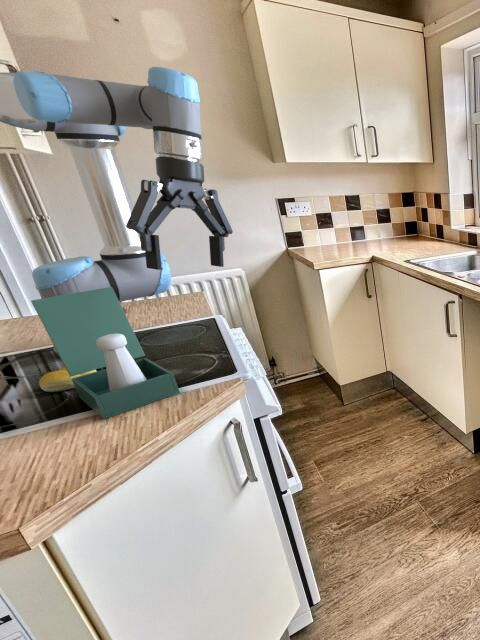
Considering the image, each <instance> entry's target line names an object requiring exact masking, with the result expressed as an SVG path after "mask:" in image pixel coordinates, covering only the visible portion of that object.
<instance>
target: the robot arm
mask: <svg viewBox="0 0 480 640" xmlns="http://www.w3.org/2000/svg"><path fill="white" fill-rule="evenodd" d="M146 82H147V84H148V85H137V84H131V83H122V82H114V81H109V80H108V81H106V80H98V79H89V78H84V77H83V78H82V77H76V76H67V75H61V74H53V73H49V72H44V71H28V70H18V71H16V72H0V123H3V124H6V125H8V126H12V127H15V128H19V129H22V130H23V129H24V130H30V131H35V132H51V133H54V134H55V137H56V139H57V141H58V142H59V143H60V144H62V145H64V146H65V147H67V148H68V149H69V151H70V154H71V157H72V159H73V163H74V165H75V168H76V171H77V174H78V176H79V180H80V182H81V185H82V188H83V190H84V192H85V193H84V194H85V196H86V198H87V201H88V204H89V207H90V210H91V213H92V215H93V218H94V222H95V224H96V227H97V229H98V232H99V235H100V238H101V241H102V244H103V247H102V248H101V249H100V251H99V252H98V253H99V256H100V260H94V259H93V258H92V257H91V256H76V257H69V258H64V259H60V260H55V261H51V262H47V263H44V264H41V265H38V266H37V267H35V268H33V270H32V271H31V272H32V273H31V275H32V279H33V283H34V285H35V289H36V291H38V294H39V295H40V297H41V298H40V299H43V298H49V297H55V296H61V295H66V294H72V293H78V292H84V291H90V290H96V289H102V288H108V287H112V288H113V290H114V292H115V294H116V296H117V298H118V300H119V302H120V303H122V302H126V301H132V300H137V299H142V298H147V297H148V298H149V297H153V296H156V295H159V294H163V293H165V292H167V291H168V290H169V288H170V286H171V283H172V273H171V267H170V264H169V262H167V259H166V257H165V256H164V255H163V254H162V253H161V246H160V245H161V244H160V236H159V234H154V233H156V231H157V230H158V229H159V228H160V226H161V224H162V223H163V222H164V221H165V220H166V218H167V217H168V216H169V215H170V213H171V212H172V211H173V210H175V209H177V208H178V209H189V210H191V211H192V212H194V213H195V214H196V215H197V217H198V218H199V219H200V220H201V222H202V223H203V224H204V225H205V227H206V228H207V229H208V230H209V232H210V233H211V234H212V235H208V241H209V259H210V266H213V267H219V268H223V267H225V266H224V252H225V250H226V245H225V244H226V243H225V238H228V237H229V235H232V234H233V232H234V231H233V229H232V226H231V224H230V221H229V220H228V217H227V216H226V213H225V211H224V208H223V207H222V205H221V203H220V200H219V194H218V191H217V190H216V189H213V188H204V187H203V183H204V182H205V169H204V168H205V166H204V165H203V163H200V162H202V161H203V160H204V154H203V140H202V121H201V98H200V93H199V85H198V82H197V80H196V79H195V78H194V77H192V76H191V75H189V74H187V73H185V72H182V71H179V70H177V69H172V68H169V67H163V66H151V67H149V68H148V70H147V79H146ZM126 127H128V128H129V127H130V128H142V129H145V130H152V136H153V137H152V138H153V151H154V153H155V154H156V155H158V156H156V158H155V171H156V176H157V177H158V178H159V181H157V180H153V179H151V180H150V179H142V180H141V181H140V192H139V195H138V197H137V199H136V201H135V204H133V201H132V197H131V194H130V191H129V188H128V185H127V182H126V179H125V176H124V173H123V170H122V167H121V164H120V160H119V157H118V155H117V151H116V149H117V147H118V146H119V145H120V144H121V140H120V137H121V136H124V135H125V133H126ZM159 193H160V194H161V196H160V197H159V199H158V200H157V198H158V194H159ZM203 199H204V200H203ZM155 203H156V204H155ZM122 309H123V311H124V312H125V308H124V307H123V308H122ZM52 345H53V344H52ZM52 348H53V351H54V354H55V355H56V356H57V357H60V356H59V354H58V352H57V350H56V348H55V346H54V345H53V346H52Z"/></svg>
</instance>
